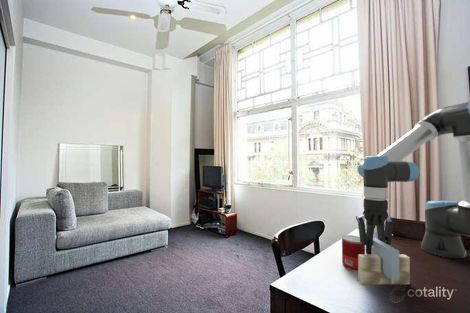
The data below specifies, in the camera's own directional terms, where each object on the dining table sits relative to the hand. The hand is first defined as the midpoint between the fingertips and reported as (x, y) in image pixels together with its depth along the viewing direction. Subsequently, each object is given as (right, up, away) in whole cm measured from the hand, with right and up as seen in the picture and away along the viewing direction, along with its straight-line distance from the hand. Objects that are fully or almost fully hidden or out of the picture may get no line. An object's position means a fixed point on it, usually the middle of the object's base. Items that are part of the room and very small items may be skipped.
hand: (375, 263), depth 82 cm
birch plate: (0, -4, -4) cm, 6 cm away
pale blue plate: (0, 0, -4) cm, 4 cm away
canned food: (-4, -5, +7) cm, 10 cm away
